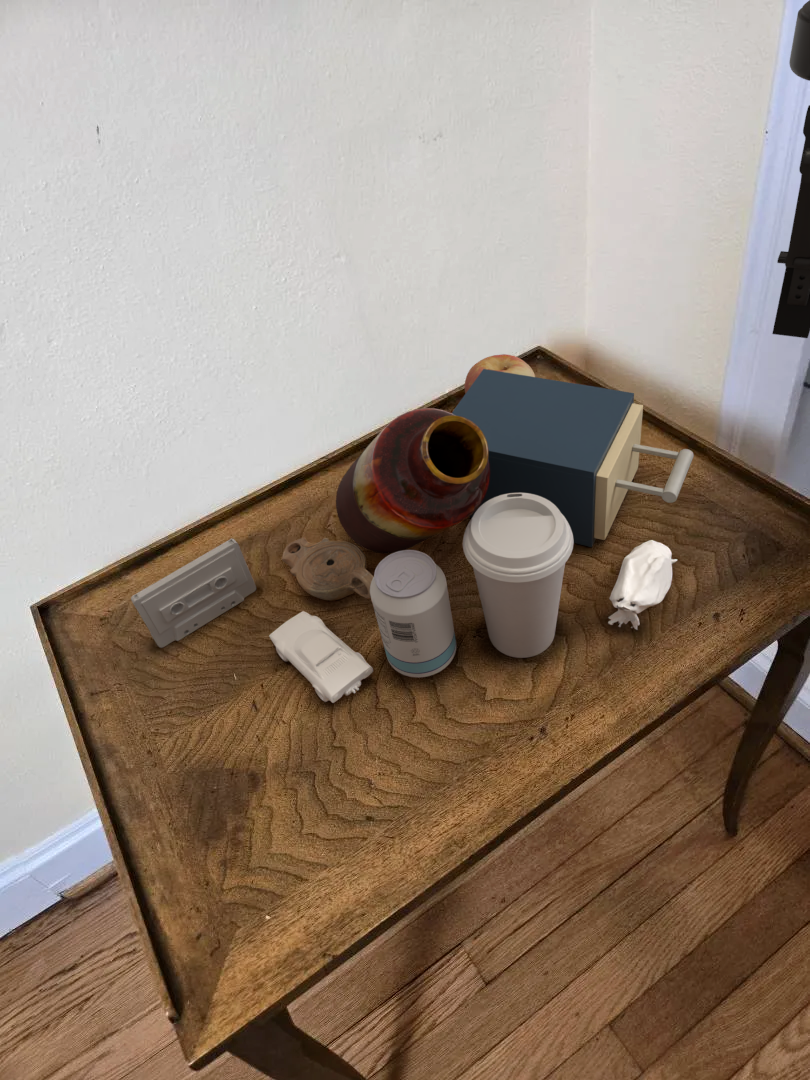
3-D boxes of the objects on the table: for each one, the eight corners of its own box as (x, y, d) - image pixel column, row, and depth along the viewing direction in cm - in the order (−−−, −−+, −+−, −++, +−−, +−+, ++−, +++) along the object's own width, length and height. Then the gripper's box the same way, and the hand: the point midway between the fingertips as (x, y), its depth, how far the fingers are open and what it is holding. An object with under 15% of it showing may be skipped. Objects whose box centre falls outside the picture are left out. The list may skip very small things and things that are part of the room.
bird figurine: (663, 642, 77) (681, 553, 82) (651, 609, 72) (671, 516, 76) (612, 635, 80) (633, 550, 84) (597, 603, 75) (619, 514, 79)
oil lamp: (272, 578, 89) (260, 547, 85) (320, 539, 92) (311, 507, 89) (353, 634, 82) (344, 603, 78) (403, 589, 85) (396, 557, 82)
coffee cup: (582, 607, 80) (587, 497, 69) (554, 683, 74) (554, 577, 64) (492, 584, 84) (483, 477, 73) (458, 655, 78) (443, 550, 67)
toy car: (309, 615, 84) (302, 595, 82) (381, 681, 77) (375, 660, 75) (267, 646, 82) (258, 626, 80) (336, 716, 75) (329, 696, 73)
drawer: (694, 478, 89) (703, 414, 83) (664, 555, 82) (672, 491, 76) (504, 440, 99) (500, 381, 92) (462, 506, 92) (455, 446, 85)
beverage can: (471, 649, 78) (460, 566, 70) (424, 696, 75) (406, 615, 67) (420, 615, 82) (404, 533, 74) (373, 659, 79) (350, 578, 71)
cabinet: (628, 468, 93) (634, 392, 86) (591, 547, 85) (594, 472, 78) (489, 440, 101) (483, 368, 93) (443, 511, 93) (432, 439, 85)
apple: (456, 421, 104) (449, 369, 99) (499, 388, 108) (495, 336, 102) (508, 445, 99) (505, 392, 94) (552, 409, 103) (551, 355, 98)
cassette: (161, 652, 84) (134, 605, 78) (154, 641, 85) (127, 594, 80) (260, 592, 88) (240, 543, 82) (252, 582, 89) (231, 534, 84)
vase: (310, 515, 88) (363, 456, 63) (368, 441, 91) (441, 357, 66) (388, 577, 89) (471, 543, 64) (443, 502, 92) (542, 442, 67)
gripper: (816, -27, 55) (758, 288, 72) (781, 31, 48) (726, 368, 64) (941, -33, 52) (851, 297, 69) (926, 28, 45) (829, 382, 61)
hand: (791, 331), depth 66 cm, fingers closed
